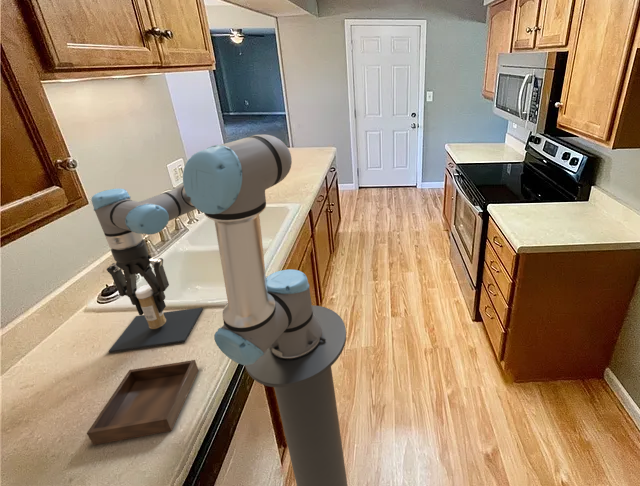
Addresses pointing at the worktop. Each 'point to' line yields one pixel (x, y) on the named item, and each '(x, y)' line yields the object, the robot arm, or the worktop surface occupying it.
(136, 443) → the worktop surface
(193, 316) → the mat
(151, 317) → the sprinkles bottle
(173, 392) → the tray
